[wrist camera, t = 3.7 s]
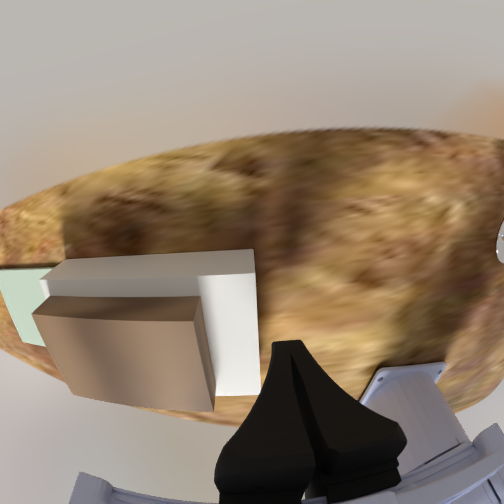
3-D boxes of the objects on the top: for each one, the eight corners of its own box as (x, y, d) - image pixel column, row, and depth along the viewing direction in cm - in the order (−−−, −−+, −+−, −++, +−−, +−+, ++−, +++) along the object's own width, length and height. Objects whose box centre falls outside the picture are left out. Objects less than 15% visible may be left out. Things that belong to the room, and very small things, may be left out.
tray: (253, 248, 15) (255, 273, 12) (259, 361, 18) (261, 394, 15) (65, 259, 15) (39, 279, 12) (99, 356, 17) (84, 383, 15)
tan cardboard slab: (200, 295, 12) (193, 321, 10) (216, 385, 14) (213, 411, 12) (49, 295, 12) (31, 313, 10) (84, 374, 14) (73, 394, 12)
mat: (67, 266, 15) (64, 268, 15) (97, 351, 17) (96, 354, 17) (-4, 269, 15) (-6, 270, 14) (24, 339, 17) (22, 341, 17)
